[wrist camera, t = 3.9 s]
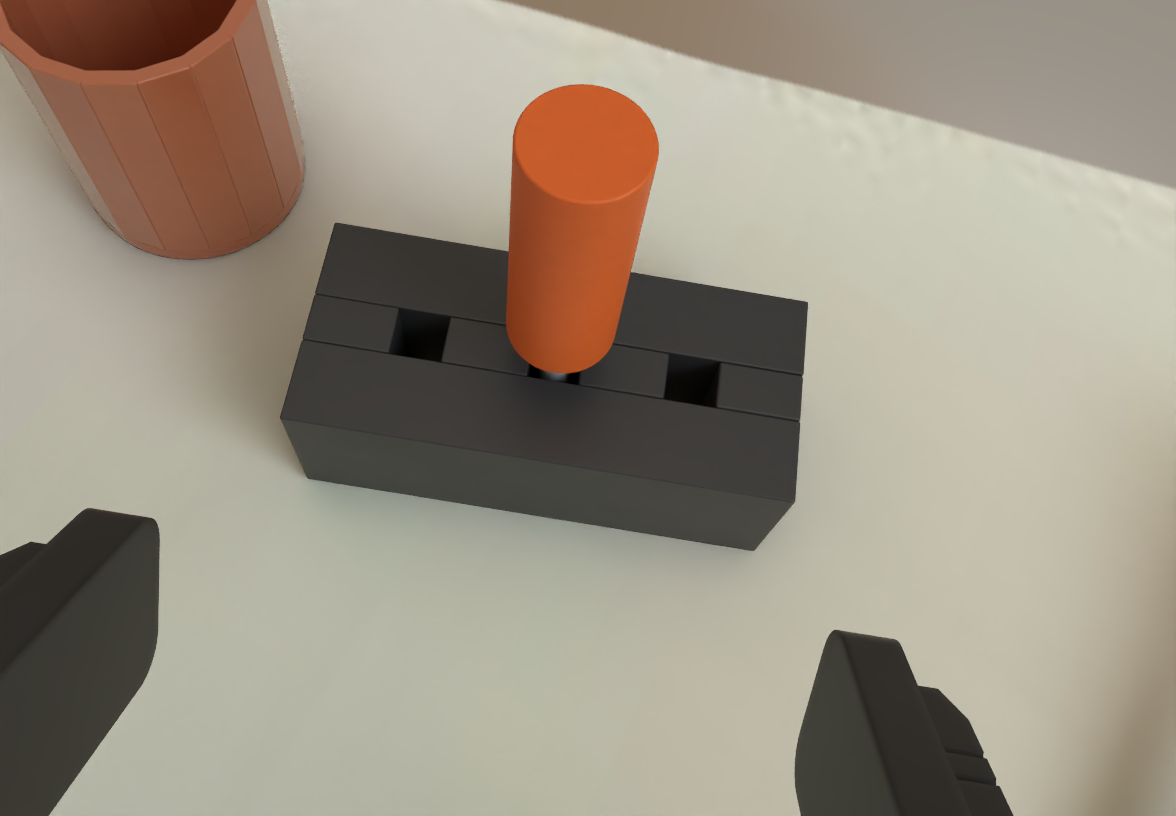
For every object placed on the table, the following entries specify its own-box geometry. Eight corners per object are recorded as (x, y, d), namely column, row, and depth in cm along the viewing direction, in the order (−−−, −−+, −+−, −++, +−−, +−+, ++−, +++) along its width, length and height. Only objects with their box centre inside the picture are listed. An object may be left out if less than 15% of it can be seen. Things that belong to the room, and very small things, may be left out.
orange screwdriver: (526, 480, 35) (553, 223, 21) (487, 402, 36) (488, 109, 22) (607, 443, 35) (685, 173, 22) (567, 368, 36) (617, 65, 23)
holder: (754, 551, 34) (795, 502, 30) (306, 478, 34) (279, 418, 29) (768, 371, 37) (808, 301, 32) (353, 302, 37) (334, 221, 32)
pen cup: (129, 290, 36) (24, 119, 28) (64, 126, 38) (-51, -77, 30) (336, 216, 38) (295, 34, 30) (262, 63, 40) (205, -144, 32)
